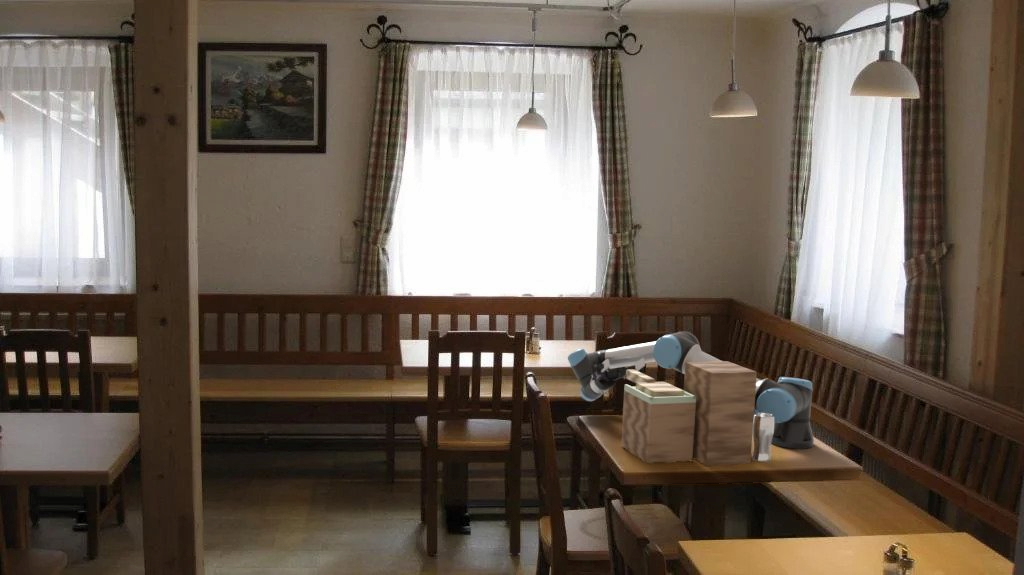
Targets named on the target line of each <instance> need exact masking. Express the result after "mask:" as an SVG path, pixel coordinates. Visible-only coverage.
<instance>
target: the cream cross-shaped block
mask: <svg viewBox="0 0 1024 575" xmlns="http://www.w3.org/2000/svg"><path fill="white" fill-rule="evenodd" d="M625 380H628V381H631V382H632V383H635V386H636V389H638V390H640V391H642V392H644V393H646V394H648V395H650V396H652V397H670V396H684V389H682V388H679V387H676V386H675V385H673V384H671V383H668V382H666V381H655V378H653V377H651V376H649V375H647V374H645V373H644V372H642V373H640V372H638V371H636V370H626V379H625Z"/></svg>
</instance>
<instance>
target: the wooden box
mask: <svg viewBox="0 0 1024 575" xmlns="http://www.w3.org/2000/svg"><path fill="white" fill-rule="evenodd" d="M623 390H624V389H623ZM695 408H696V402H694V403H667V404H650V403H648V402H646V401H644V400H642V399H640V398H638V397H636V396H634V395H632V394H630V393H628V392H627V391H625V390H624V391H623V408H622V426H621V440H620V441H621V444H620V447H621V448H623V449H624V448H625V449H624V450H626V451H627V450H628V452H629V453H630V452H631V453H630V454H632V453H633V454H634V455H633V454H632V455H633V456H635V455H636V456H637V457H636V456H635V457H636V458H638V457H639V459H640V458H641V459H642V460H641V459H640V460H641V461H643V460H644V461H645V462H644V461H643V462H644V463H646V462H647V463H646V464H655V463H654V462H665V463H674V462H673V461H682V462H691V461H690V460H692V461H693V458H692V455H693V439H694V424H695ZM671 461H672V462H671Z"/></svg>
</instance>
